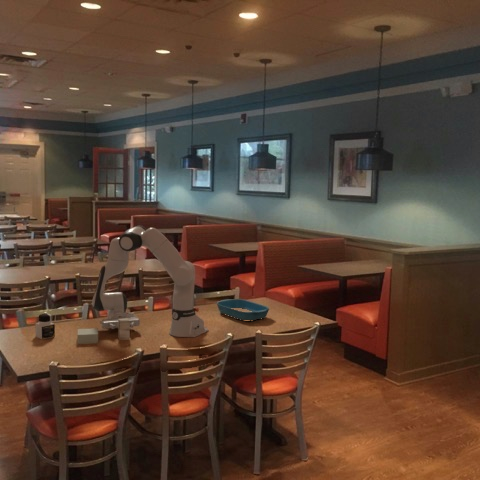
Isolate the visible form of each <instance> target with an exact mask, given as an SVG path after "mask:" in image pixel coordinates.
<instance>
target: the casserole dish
mask: <svg viewBox="0 0 480 480" xmlns="http://www.w3.org/2000/svg"><path fill="white" fill-rule="evenodd" d="M216 305H217V309H218V311H219V313H220V314H222V313H223V314H222V315H224V314H226V315H225V316H227V315H229V316H232V317H235V318H238V319H241V320H256V319H261V318H264V319H265V318H266V317H267V316H268V313H269V310H270V307H269V306H267V305H263V304H261V303H258V302H253V301H250V300H247V299H243V298H242V299H241V298H233V299H231V298H230V299H229V298H228V299H222V300H220V301H217V302H216ZM231 308H242V309H247V310H249V311H252V312H242V311H238V310H234V309H231ZM229 316H228V317H229ZM232 317H231V318H232ZM235 318H234V319H235ZM238 319H237V320H238ZM241 320H240V321H241ZM261 320H262V319H261ZM256 321H257V320H256Z"/></svg>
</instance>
